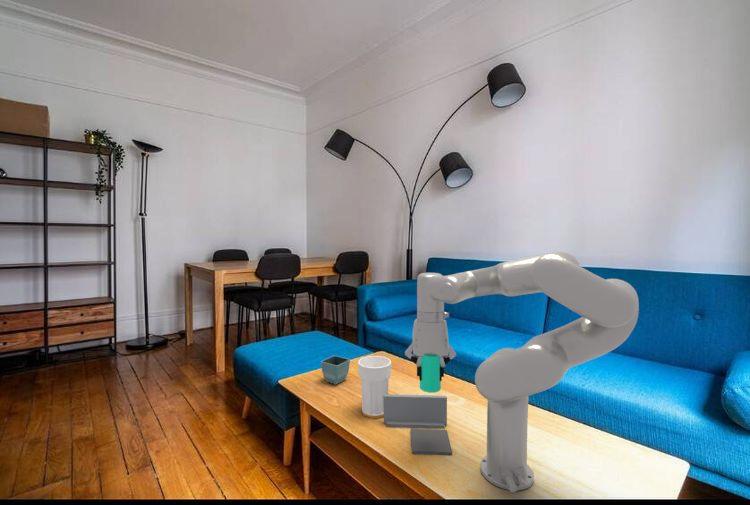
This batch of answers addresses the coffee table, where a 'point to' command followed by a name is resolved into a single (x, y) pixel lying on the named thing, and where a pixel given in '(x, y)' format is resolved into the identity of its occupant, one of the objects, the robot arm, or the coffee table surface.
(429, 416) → the board
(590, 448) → the coffee table surface
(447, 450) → the mat
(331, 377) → the flower pot
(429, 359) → the candle
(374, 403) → the cup
